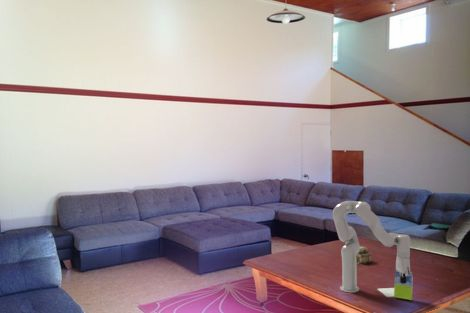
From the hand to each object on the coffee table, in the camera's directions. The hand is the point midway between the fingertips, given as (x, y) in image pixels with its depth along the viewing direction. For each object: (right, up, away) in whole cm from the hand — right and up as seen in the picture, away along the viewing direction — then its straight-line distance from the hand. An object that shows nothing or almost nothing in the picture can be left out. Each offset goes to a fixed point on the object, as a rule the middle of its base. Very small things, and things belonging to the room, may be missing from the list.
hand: (403, 282), depth 251 cm
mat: (-1, -11, +13) cm, 17 cm away
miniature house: (-1, -9, +83) cm, 83 cm away
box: (0, -11, +1) cm, 11 cm away
